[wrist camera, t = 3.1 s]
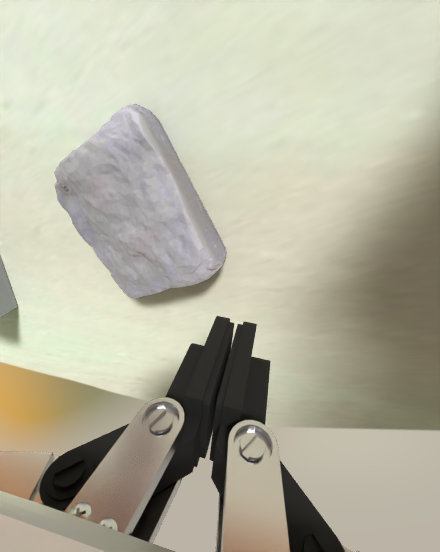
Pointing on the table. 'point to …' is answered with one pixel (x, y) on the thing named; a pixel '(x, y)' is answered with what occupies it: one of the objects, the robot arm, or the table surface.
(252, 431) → the robot arm
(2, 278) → the board
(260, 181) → the table surface
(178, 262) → the stone block
